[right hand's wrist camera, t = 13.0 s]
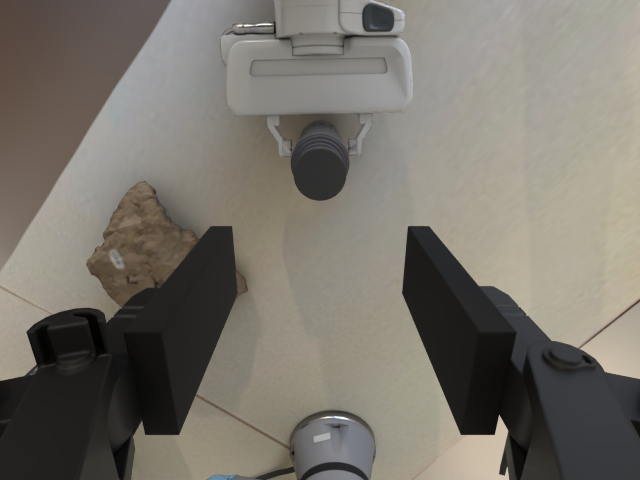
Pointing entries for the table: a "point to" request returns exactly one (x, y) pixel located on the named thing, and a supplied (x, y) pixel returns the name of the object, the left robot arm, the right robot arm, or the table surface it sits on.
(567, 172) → the table surface
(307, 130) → the bottle
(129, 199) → the stone
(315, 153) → the cap
